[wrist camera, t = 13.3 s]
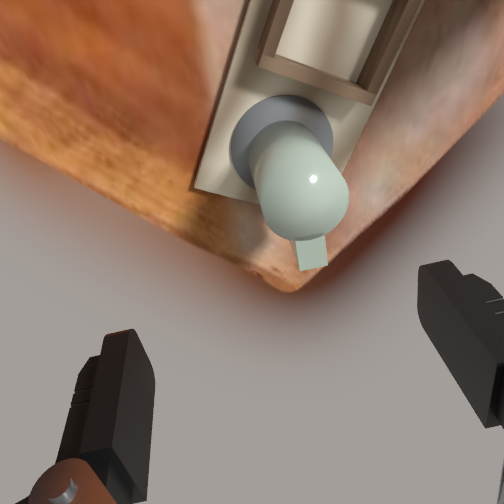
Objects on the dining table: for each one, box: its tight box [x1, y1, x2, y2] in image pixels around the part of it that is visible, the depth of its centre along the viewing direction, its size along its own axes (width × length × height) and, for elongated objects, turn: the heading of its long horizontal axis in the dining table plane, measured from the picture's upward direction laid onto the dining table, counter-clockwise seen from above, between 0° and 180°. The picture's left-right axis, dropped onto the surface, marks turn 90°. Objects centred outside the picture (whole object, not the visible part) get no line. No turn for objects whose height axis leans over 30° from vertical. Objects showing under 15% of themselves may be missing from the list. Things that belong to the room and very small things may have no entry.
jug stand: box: [194, 0, 425, 205], centre depth 40 cm, size 14×24×4 cm, turn 161°
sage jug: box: [248, 120, 349, 271], centre depth 41 cm, size 10×7×10 cm
